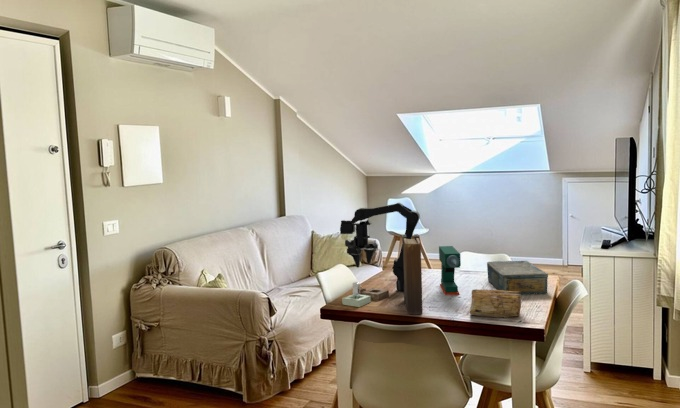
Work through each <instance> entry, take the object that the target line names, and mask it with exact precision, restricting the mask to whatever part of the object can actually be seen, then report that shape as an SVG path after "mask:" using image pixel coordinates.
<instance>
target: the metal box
mask: <svg viewBox="0 0 680 408" xmlns="http://www.w3.org/2000/svg"><path fill="white" fill-rule="evenodd" d="M486 267H487V269H486V270H487V271H486V272H487V280H488V282H490V283H491V285H493V287H494V288H496V290H503V291H520V292H521V296H522V295H523V294H526V295H547V294H548V279H549V278H548V277H549V274H548V273H547V272H546V271H544V270H542V269H541V268H539V267H537V266H536V265H535V264H532V263H531V262H530V261H528V260H506V261H505V260H503V261H501V260H498V261H497V260H496V261H487V262H486Z"/></svg>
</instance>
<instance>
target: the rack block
mask: <svg viewBox="0 0 680 408" xmlns="http://www.w3.org/2000/svg"><path fill="white" fill-rule="evenodd" d="M341 302H342V305H344V306H351V307H356V308H357V307H358V308H360V307H362V306H365V305H367V304H369V303H371V297H370V296H367V295H360V298H359V299H354V298H353V293H352V294H350V295H347V296H344V297H342V301H341Z"/></svg>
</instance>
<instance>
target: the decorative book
mask: <svg viewBox="0 0 680 408" xmlns="http://www.w3.org/2000/svg"><path fill="white" fill-rule="evenodd" d="M413 236H414V238H412V239H407V236H406V235H405V234H402V235H401V237H402V238H401V240H402V244H401V247H403V261H404V292H403V300H404V305H405V308H406V309H405V311H406V313H407V314H410V315H422V314H423V310H424V309H423V281H422V280H423V279H422V278H423V277H422V275H423V274H422V244H421V243H422V242H421V240H420V235H419V233H418V234H417V233H413Z"/></svg>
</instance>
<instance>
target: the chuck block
mask: <svg viewBox="0 0 680 408" xmlns="http://www.w3.org/2000/svg"><path fill="white" fill-rule="evenodd" d="M362 295H367V296H370V297H371V300H372V301H381V300H383V299H386V298H388V297H390V290H389V289H382V288H376V287H375V288H374V287H372V288H369V289H366V291H364V292H362Z"/></svg>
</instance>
